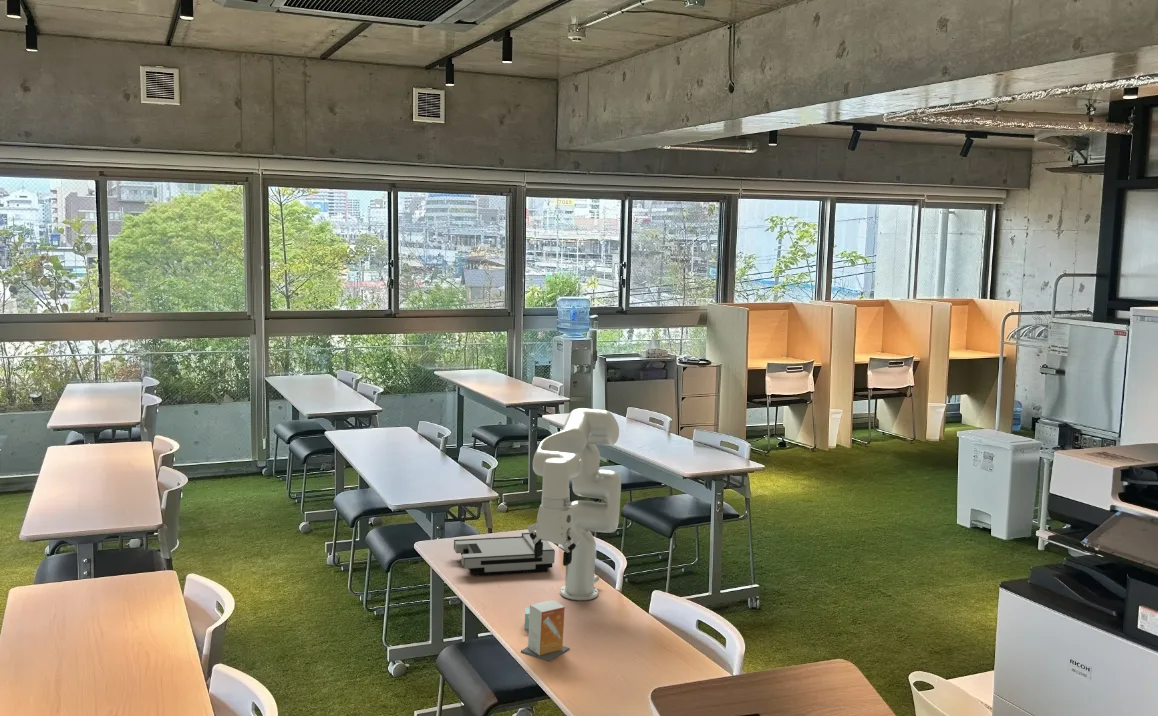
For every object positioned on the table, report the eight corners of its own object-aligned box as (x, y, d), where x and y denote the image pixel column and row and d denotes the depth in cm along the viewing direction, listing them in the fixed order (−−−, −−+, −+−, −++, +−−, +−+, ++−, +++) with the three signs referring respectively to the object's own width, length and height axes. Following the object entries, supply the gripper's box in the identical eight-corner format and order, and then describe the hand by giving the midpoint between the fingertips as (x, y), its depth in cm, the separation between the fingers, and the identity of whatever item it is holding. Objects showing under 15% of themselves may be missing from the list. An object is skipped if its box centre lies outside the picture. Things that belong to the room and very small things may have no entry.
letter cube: (524, 622, 293) (525, 607, 292) (541, 623, 293) (541, 607, 293) (524, 629, 288) (525, 613, 287) (541, 630, 288) (541, 614, 288)
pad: (540, 640, 281) (540, 638, 281) (569, 649, 276) (569, 647, 276) (520, 652, 273) (520, 650, 272) (550, 661, 267) (550, 660, 267)
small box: (539, 656, 269) (541, 612, 268) (527, 647, 275) (529, 604, 273) (563, 650, 274) (565, 606, 273) (550, 641, 279) (552, 599, 278)
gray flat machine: (453, 558, 347) (454, 536, 346) (538, 553, 357) (539, 532, 356) (463, 578, 328) (464, 555, 327) (553, 573, 337) (554, 550, 336)
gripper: (588, 505, 268) (585, 563, 270) (537, 493, 277) (534, 550, 279) (573, 511, 262) (571, 571, 264) (522, 499, 271) (520, 557, 273)
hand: (552, 560), depth 272 cm, fingers open, 9 cm apart
